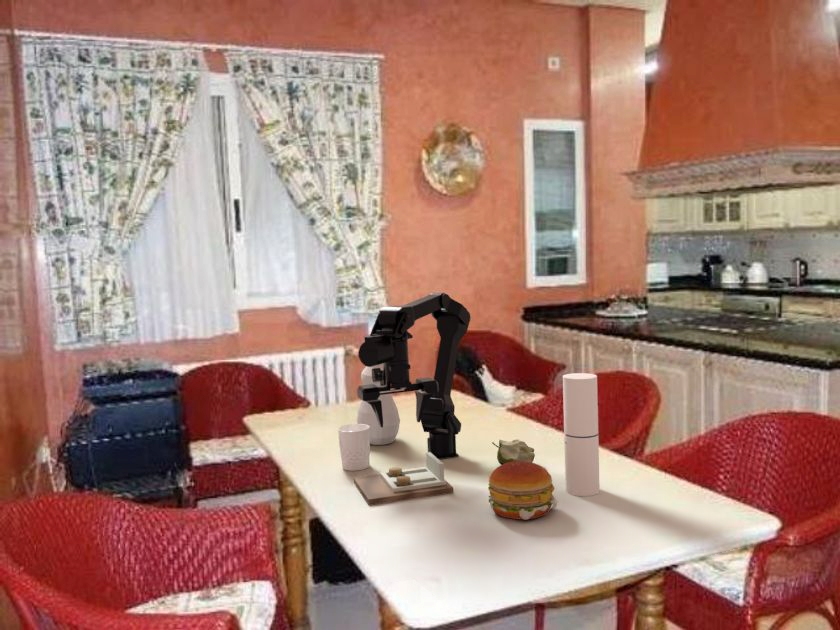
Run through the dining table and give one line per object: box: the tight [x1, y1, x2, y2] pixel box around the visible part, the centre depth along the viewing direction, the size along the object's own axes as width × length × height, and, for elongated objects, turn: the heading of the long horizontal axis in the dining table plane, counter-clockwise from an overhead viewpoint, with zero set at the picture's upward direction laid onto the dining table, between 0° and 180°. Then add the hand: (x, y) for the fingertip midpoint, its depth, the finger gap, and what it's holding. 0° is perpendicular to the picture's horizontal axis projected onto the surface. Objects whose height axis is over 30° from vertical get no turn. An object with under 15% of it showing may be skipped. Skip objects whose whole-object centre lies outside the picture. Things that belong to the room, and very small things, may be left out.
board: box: [352, 466, 454, 506], centre depth 161 cm, size 19×16×3 cm
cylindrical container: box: [562, 372, 601, 497], centre depth 152 cm, size 7×7×25 cm
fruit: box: [491, 439, 536, 466], centre depth 172 cm, size 9×9×8 cm
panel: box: [379, 451, 447, 492], centre depth 161 cm, size 12×12×4 cm
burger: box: [487, 461, 557, 520], centre depth 143 cm, size 13×14×10 cm
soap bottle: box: [356, 363, 401, 446], centre depth 200 cm, size 17×12×29 cm
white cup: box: [337, 423, 371, 472], centre depth 177 cm, size 8×8×10 cm
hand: (400, 424), depth 169 cm, fingers open, 9 cm apart
